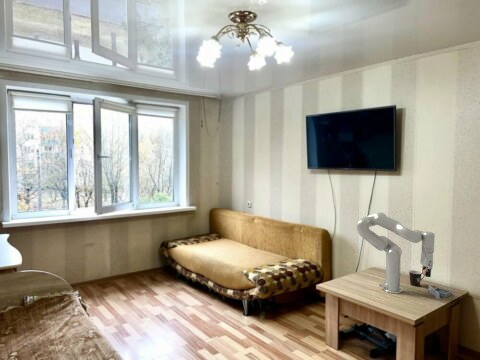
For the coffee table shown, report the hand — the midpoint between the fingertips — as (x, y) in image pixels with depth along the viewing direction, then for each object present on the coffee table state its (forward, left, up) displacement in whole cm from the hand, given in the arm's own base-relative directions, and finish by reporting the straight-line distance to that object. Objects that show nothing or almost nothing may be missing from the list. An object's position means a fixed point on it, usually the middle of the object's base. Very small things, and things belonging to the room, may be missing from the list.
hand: (426, 275), depth 240 cm
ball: (0, 0, +2) cm, 2 cm away
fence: (+7, +3, -15) cm, 17 cm away
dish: (+13, +6, -15) cm, 20 cm away
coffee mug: (+2, +22, -15) cm, 27 cm away
